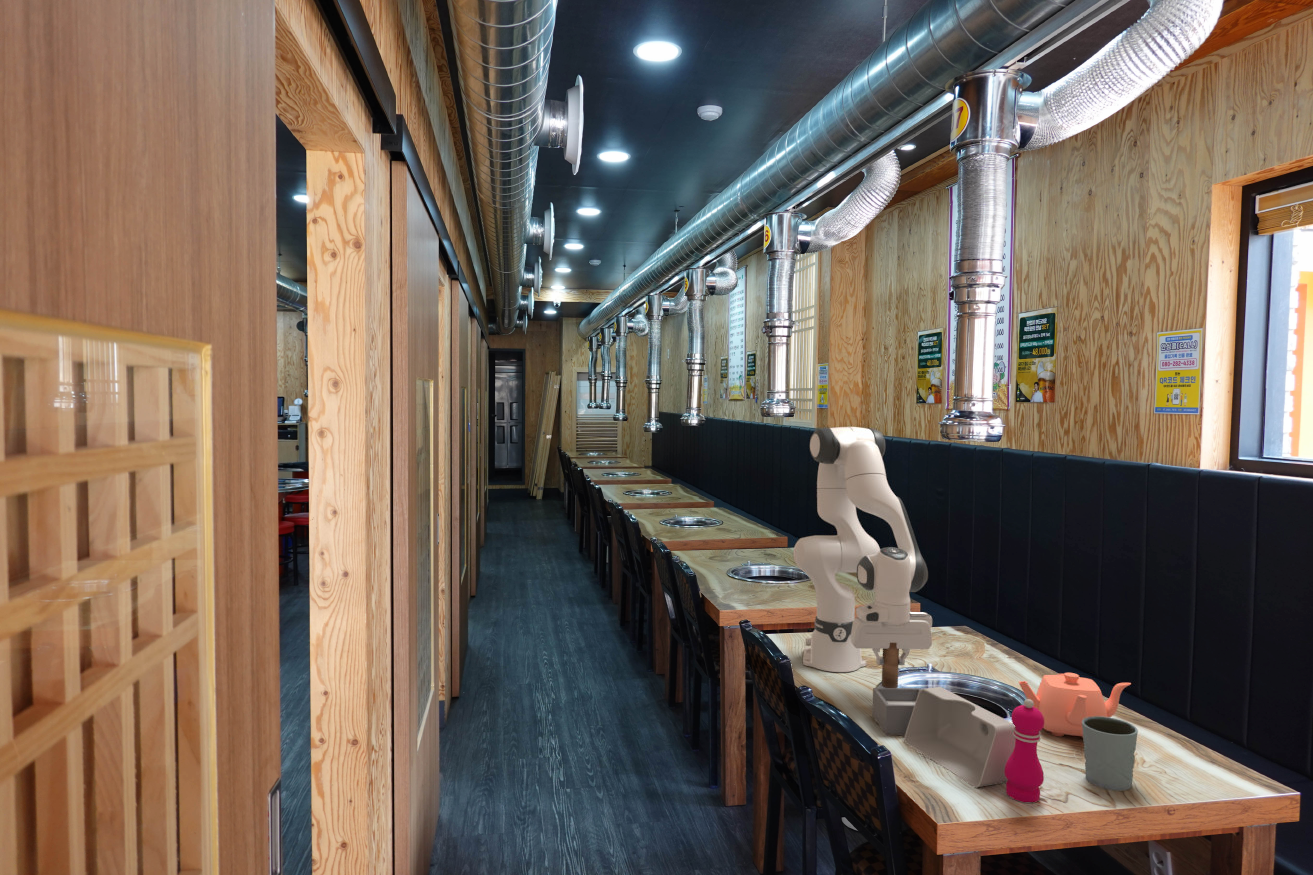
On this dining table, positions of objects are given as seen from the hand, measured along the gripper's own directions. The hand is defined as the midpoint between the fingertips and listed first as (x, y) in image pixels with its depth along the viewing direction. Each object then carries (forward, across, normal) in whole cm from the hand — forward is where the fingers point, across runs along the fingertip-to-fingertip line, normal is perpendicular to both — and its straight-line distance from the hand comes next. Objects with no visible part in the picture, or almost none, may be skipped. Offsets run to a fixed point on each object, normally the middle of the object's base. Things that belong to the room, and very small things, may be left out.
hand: (890, 664), depth 212 cm
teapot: (+11, -40, +15) cm, 44 cm away
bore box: (+11, 0, +12) cm, 16 cm away
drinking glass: (+10, -34, +41) cm, 54 cm away
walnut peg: (+6, 0, 0) cm, 6 cm away
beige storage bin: (+11, -9, +31) cm, 34 cm away
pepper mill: (+10, -13, +48) cm, 51 cm away
